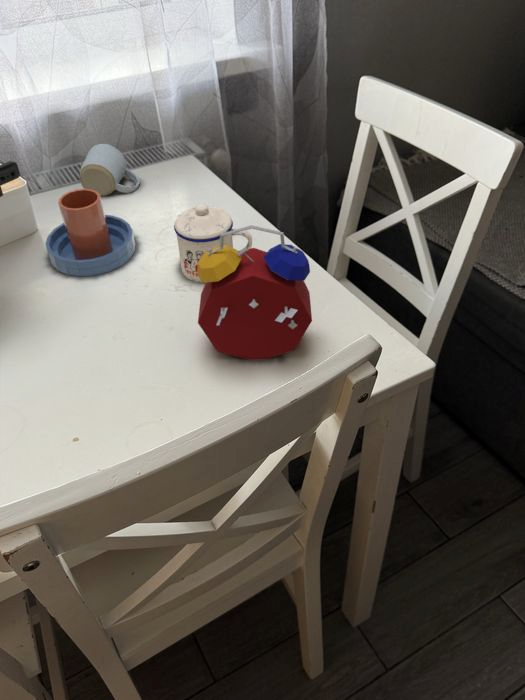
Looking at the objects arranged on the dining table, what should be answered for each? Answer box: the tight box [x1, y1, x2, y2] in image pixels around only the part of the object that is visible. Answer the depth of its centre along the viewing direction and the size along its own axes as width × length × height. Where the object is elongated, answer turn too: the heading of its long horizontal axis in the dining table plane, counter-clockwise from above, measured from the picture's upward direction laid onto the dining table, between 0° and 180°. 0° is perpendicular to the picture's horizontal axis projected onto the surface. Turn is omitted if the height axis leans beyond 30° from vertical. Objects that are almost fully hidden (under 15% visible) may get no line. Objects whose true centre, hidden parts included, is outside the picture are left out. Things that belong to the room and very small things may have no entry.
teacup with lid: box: [173, 203, 253, 283], centre depth 94 cm, size 12×9×12 cm
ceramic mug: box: [79, 143, 141, 197], centre depth 116 cm, size 11×8×8 cm
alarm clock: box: [197, 225, 313, 360], centre depth 77 cm, size 15×9×20 cm, turn 90°
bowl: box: [45, 214, 136, 277], centre depth 101 cm, size 14×14×4 cm
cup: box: [58, 188, 112, 260], centre depth 98 cm, size 6×6×10 cm
